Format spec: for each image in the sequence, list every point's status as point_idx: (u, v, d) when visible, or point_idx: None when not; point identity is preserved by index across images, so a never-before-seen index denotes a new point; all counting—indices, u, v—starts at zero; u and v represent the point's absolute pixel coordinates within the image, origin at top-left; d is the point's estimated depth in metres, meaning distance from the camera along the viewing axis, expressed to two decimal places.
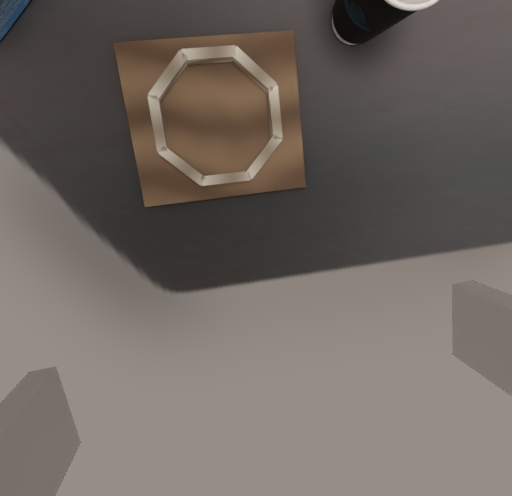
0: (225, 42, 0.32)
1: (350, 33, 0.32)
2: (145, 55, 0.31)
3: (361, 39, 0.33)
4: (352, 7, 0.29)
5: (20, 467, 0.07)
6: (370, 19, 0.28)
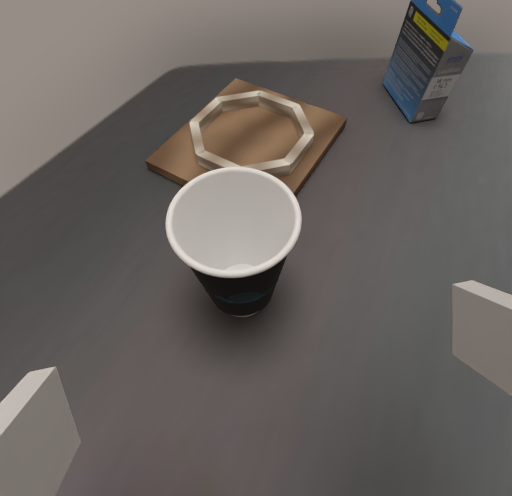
0: (300, 172, 0.34)
1: None
2: (327, 127, 0.37)
3: None
4: None
5: (20, 467, 0.07)
6: None
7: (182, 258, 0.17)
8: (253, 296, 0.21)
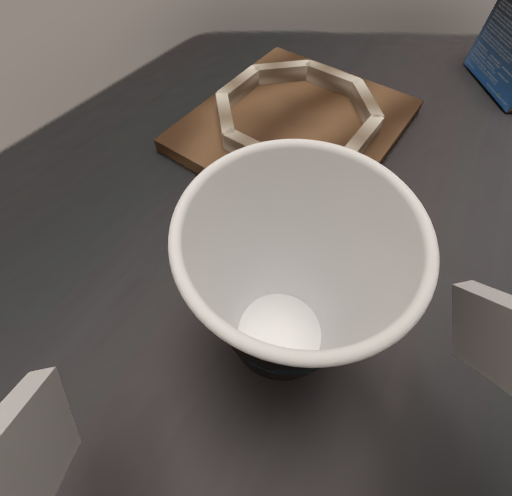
0: None
1: None
2: (397, 111, 0.28)
3: None
4: None
5: (20, 467, 0.07)
6: None
7: (196, 313, 0.08)
8: (314, 369, 0.12)
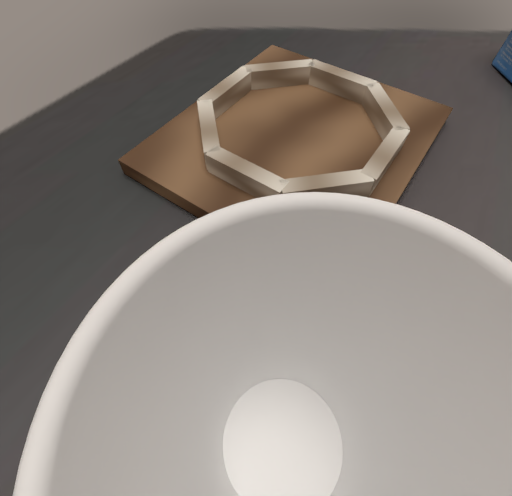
0: (386, 194, 0.19)
1: None
2: (422, 121, 0.23)
3: None
4: None
5: None
6: None
7: None
8: None
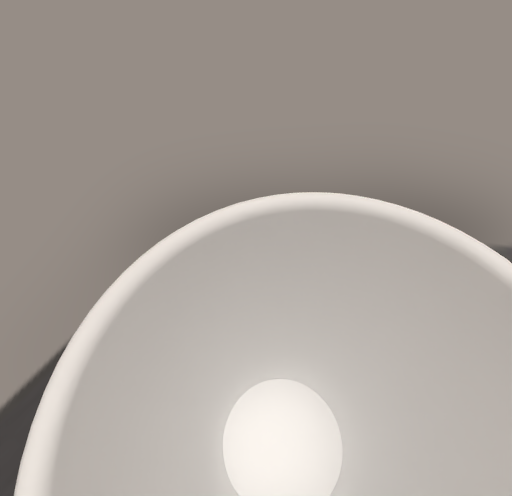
0: None
1: None
2: None
3: None
4: None
5: None
6: None
7: None
8: None
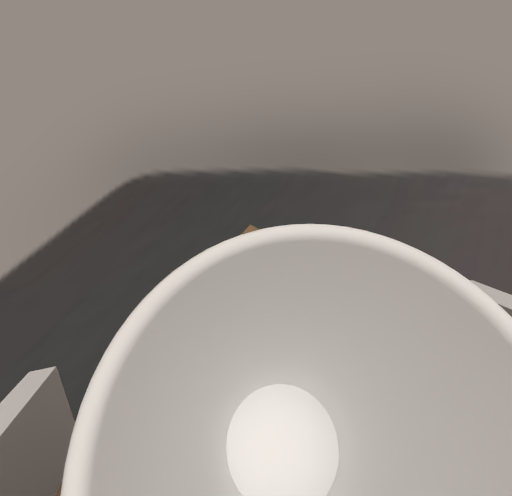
0: None
1: None
2: None
3: None
4: None
5: (20, 467, 0.07)
6: None
7: None
8: None
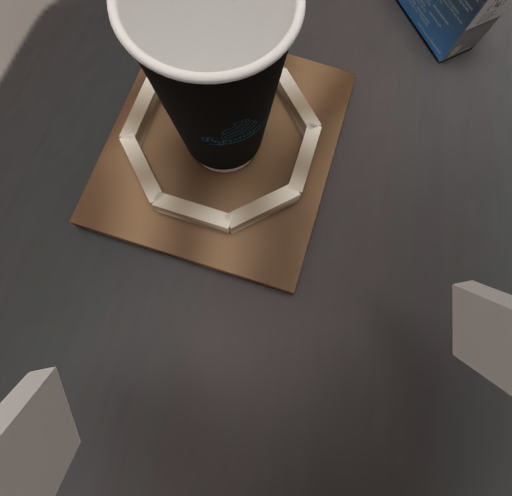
0: (312, 194, 0.23)
1: None
2: (331, 98, 0.24)
3: None
4: None
5: (20, 467, 0.07)
6: None
7: (153, 67, 0.12)
8: (250, 128, 0.17)
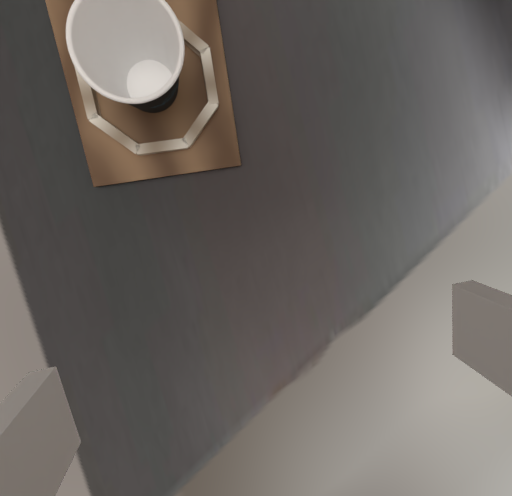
0: (224, 97, 0.34)
1: None
2: (204, 13, 0.32)
3: None
4: None
5: (20, 467, 0.07)
6: None
7: (128, 102, 0.23)
8: (175, 88, 0.28)
